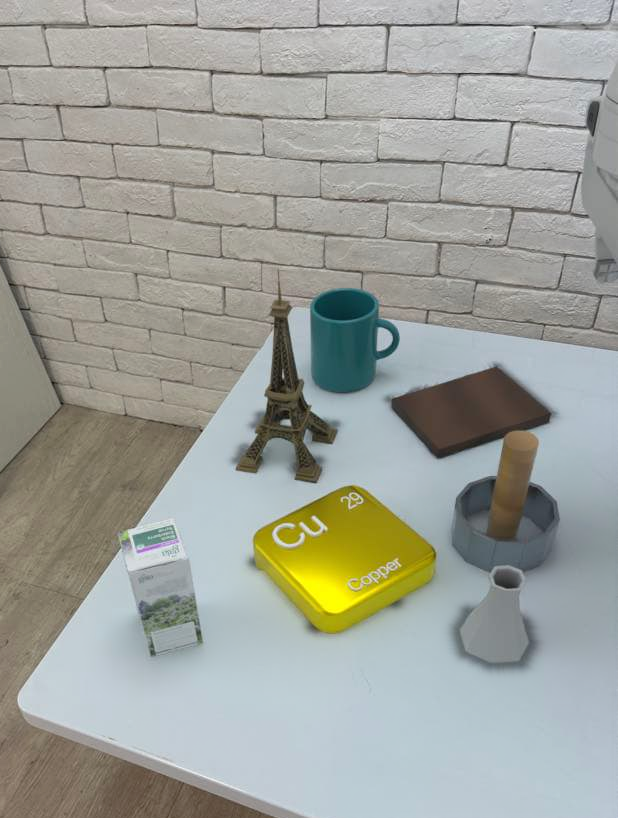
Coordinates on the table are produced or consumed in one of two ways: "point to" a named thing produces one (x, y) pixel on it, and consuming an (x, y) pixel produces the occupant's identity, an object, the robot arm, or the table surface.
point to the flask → (498, 619)
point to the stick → (512, 484)
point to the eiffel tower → (286, 405)
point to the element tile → (343, 558)
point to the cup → (346, 339)
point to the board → (469, 411)
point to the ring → (503, 551)
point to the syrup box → (162, 586)
